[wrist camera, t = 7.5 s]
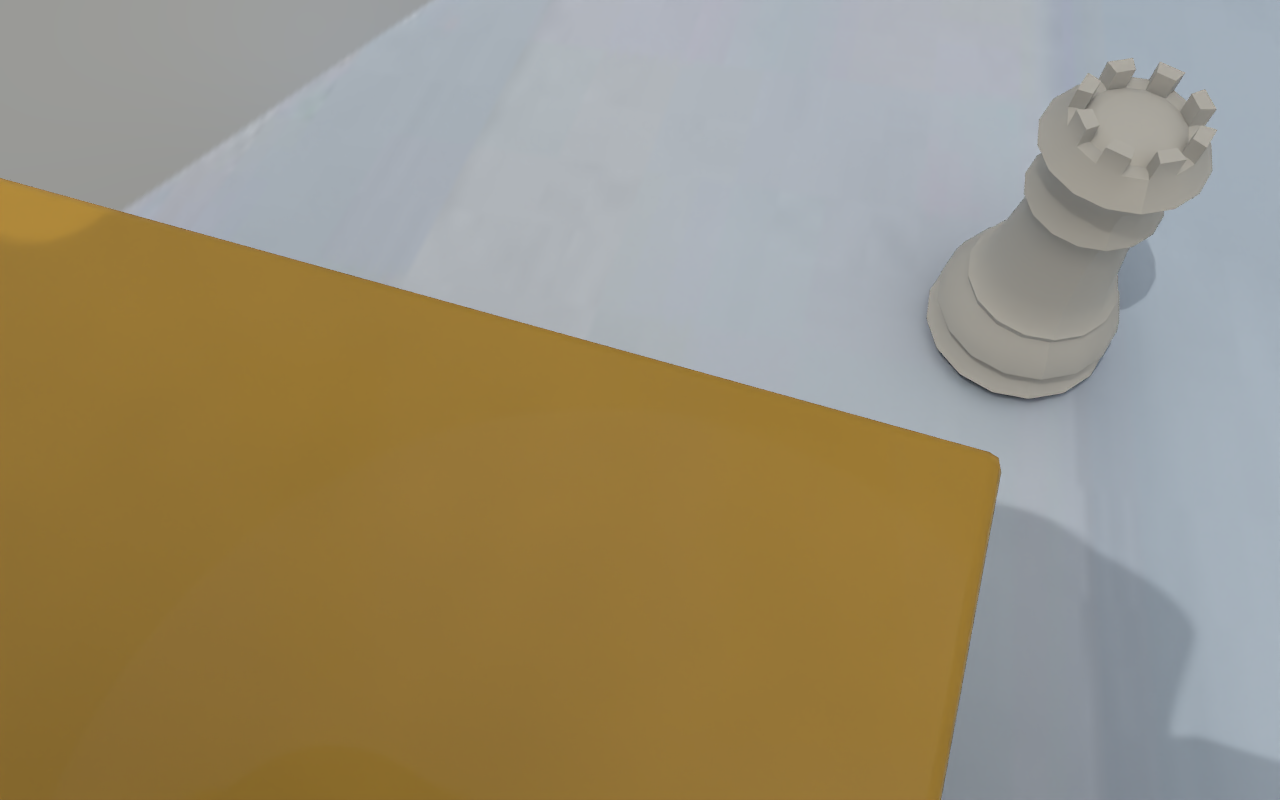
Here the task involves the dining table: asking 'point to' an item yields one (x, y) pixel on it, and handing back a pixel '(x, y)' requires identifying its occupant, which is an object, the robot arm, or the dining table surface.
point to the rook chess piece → (1072, 233)
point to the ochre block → (441, 548)
